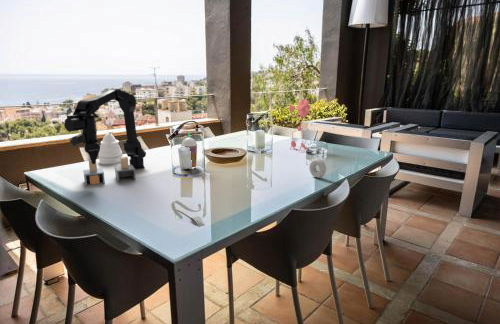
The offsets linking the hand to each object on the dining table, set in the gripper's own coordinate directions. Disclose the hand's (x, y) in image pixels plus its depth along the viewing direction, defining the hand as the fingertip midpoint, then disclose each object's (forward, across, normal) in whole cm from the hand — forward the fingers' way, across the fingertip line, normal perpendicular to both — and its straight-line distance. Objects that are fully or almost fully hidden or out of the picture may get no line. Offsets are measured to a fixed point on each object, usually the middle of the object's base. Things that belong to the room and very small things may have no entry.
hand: (92, 161), depth 159 cm
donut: (+10, +41, +100) cm, 108 cm away
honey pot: (+10, -39, +12) cm, 42 cm away
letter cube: (+10, 0, 0) cm, 10 cm away
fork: (+11, +58, +27) cm, 65 cm away
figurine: (+10, -16, +133) cm, 134 cm away
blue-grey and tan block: (+10, 0, 0) cm, 10 cm away
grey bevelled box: (+10, 0, +14) cm, 17 cm away
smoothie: (+10, -3, +48) cm, 49 cm away
